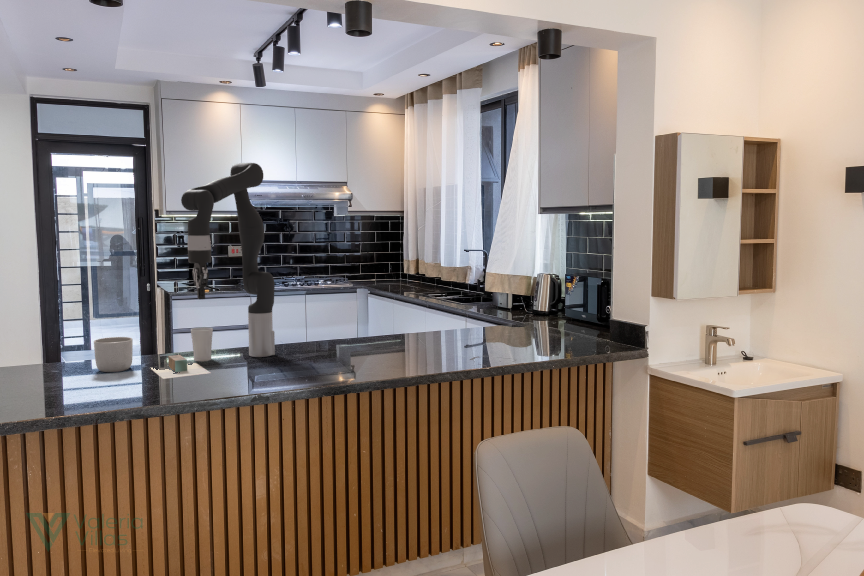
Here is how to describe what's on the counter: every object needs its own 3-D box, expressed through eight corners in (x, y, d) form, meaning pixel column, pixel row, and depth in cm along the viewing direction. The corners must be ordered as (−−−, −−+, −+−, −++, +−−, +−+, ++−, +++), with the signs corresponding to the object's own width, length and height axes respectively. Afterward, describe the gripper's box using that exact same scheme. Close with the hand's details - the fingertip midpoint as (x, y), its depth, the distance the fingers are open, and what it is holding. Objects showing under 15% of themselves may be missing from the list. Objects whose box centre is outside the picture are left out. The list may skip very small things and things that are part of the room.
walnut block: (187, 370, 235) (180, 365, 243) (187, 359, 235) (179, 354, 243) (175, 372, 233) (168, 366, 241) (175, 360, 232) (168, 356, 241)
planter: (114, 375, 228) (113, 343, 227) (86, 372, 233) (85, 341, 232) (141, 368, 240) (140, 338, 239) (114, 365, 244) (113, 335, 243)
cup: (206, 362, 250) (205, 331, 249) (187, 361, 252) (186, 330, 250) (217, 358, 258) (216, 327, 257) (198, 357, 259) (197, 327, 258)
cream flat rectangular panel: (195, 363, 248) (195, 362, 248) (211, 373, 232) (211, 373, 232) (149, 368, 239) (149, 367, 239) (162, 379, 223) (162, 378, 223)
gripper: (216, 249, 225) (218, 300, 226) (205, 247, 235) (206, 296, 237) (193, 249, 220) (195, 301, 222) (183, 248, 231) (185, 297, 233)
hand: (201, 298), depth 230 cm, fingers closed
